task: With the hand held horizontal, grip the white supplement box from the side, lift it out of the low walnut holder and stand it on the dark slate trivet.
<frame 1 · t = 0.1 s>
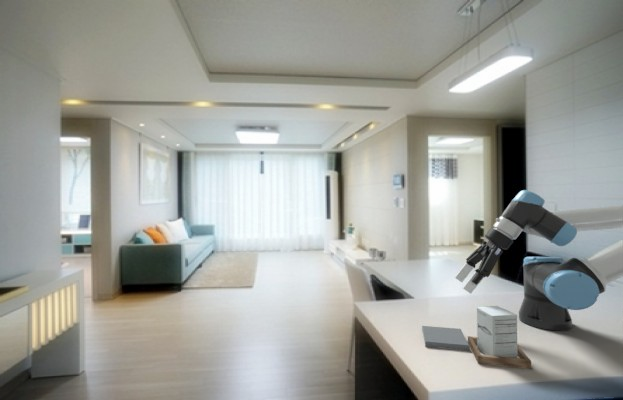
hand: (462, 285, 106), 15 cm above the table, tool tilted 35°, fingers open, 13 cm apart
supplement box: (496, 355, 89), resting in walnut holder
slate trivet: (443, 339, 99), on the table
walnut holder: (496, 354, 89), on the table
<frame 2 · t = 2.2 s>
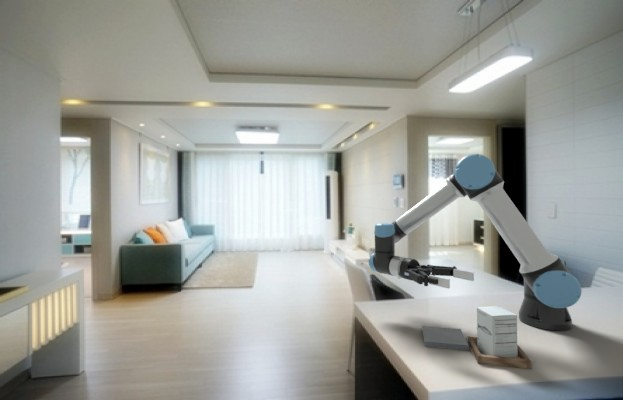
hand: (461, 280, 97), 19 cm above the table, tool horizontal, fingers open, 13 cm apart
nothing on the table moved.
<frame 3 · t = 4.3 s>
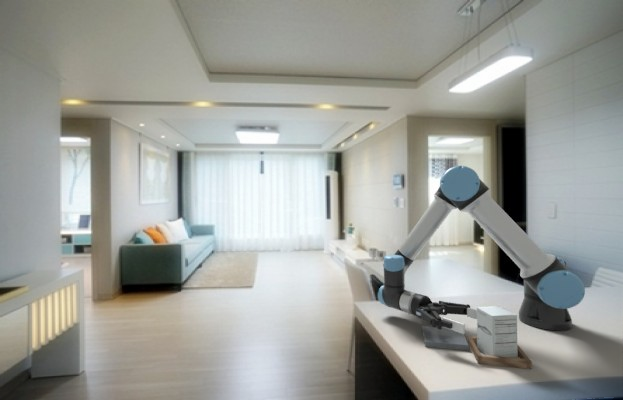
hand: (476, 323, 93), 7 cm above the table, tool horizontal, fingers open, 13 cm apart
nothing on the table moved.
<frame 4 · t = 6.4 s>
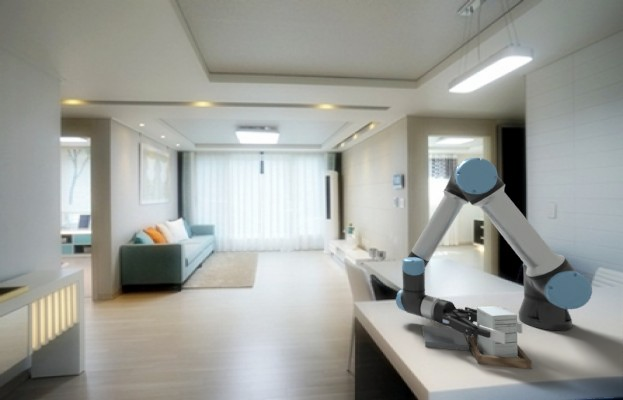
hand: (513, 333, 86), 8 cm above the table, tool horizontal, fingers closed on supplement box, 10 cm apart
supplement box: (496, 355, 89), resting in walnut holder, touching gripper
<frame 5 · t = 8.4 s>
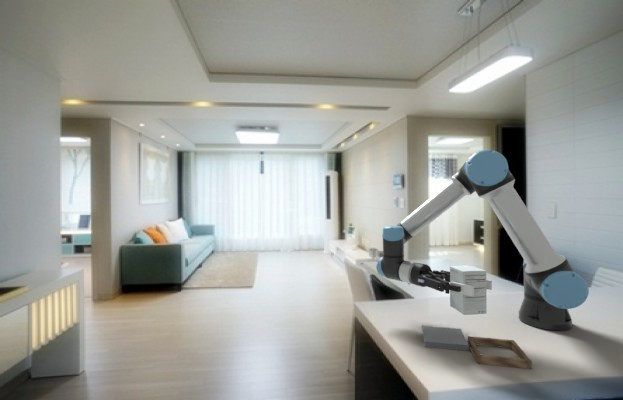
hand: (482, 288, 90), 19 cm above the table, tool horizontal, fingers closed on supplement box, 10 cm apart
supplement box: (467, 310, 94), point 11 cm above the table, touching gripper
when the fingers open (10 cm above the table, at t = 10.8 s): supplement box drops 1 cm, resting on slate trivet.
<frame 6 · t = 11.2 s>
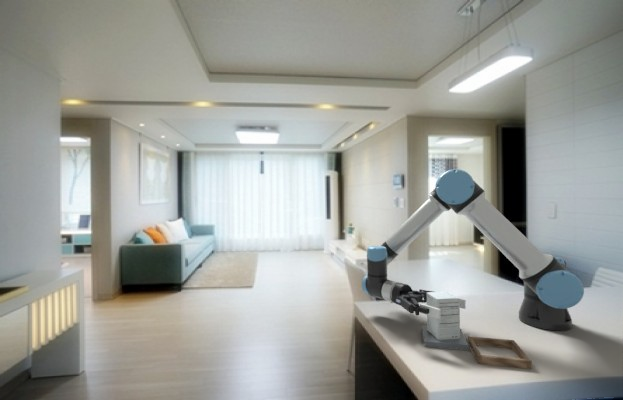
hand: (453, 309, 97), 10 cm above the table, tool horizontal, fingers open, 13 cm apart
supplement box: (443, 335, 99), point 1 cm above the table, touching slate trivet
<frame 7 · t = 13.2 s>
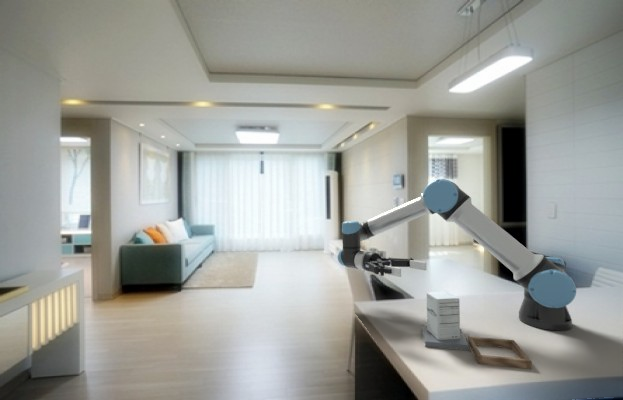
hand: (413, 269, 108), 20 cm above the table, tool horizontal, fingers open, 13 cm apart
nothing on the table moved.
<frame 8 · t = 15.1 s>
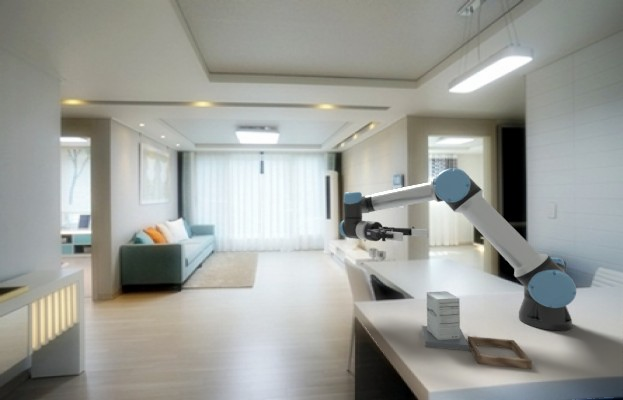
hand: (415, 235, 107), 32 cm above the table, tool horizontal, fingers open, 13 cm apart
nothing on the table moved.
at the end: supplement box inside the target area on the slate trivet (0.2 cm from its centre), point 1.3 cm above the slate trivet's base; supplement box tilted 0°; the gripper is holding nothing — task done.
